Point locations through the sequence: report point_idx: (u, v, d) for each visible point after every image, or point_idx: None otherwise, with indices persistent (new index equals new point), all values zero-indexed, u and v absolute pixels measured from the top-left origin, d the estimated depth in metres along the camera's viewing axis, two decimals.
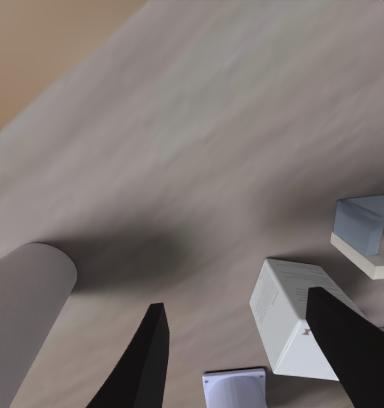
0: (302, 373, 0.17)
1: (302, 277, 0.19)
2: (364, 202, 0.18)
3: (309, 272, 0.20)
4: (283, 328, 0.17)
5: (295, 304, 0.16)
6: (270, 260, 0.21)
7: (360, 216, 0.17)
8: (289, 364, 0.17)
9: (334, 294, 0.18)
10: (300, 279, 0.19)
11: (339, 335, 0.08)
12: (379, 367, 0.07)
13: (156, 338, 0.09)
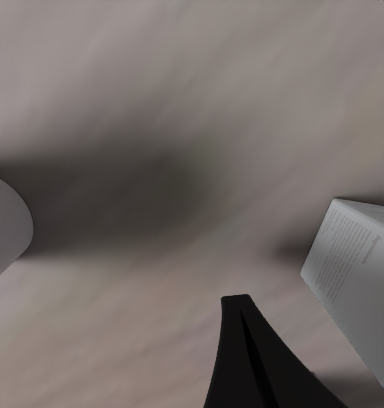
0: None
1: None
2: None
3: None
4: None
5: None
6: (342, 200, 0.13)
7: None
8: None
9: None
10: None
11: (249, 344, 0.09)
12: (265, 377, 0.07)
13: None
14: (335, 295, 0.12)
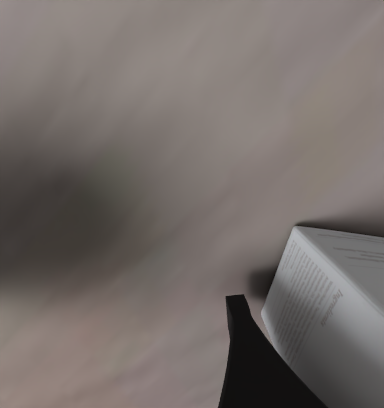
0: None
1: (383, 258, 0.09)
2: None
3: None
4: (374, 398, 0.06)
5: None
6: (304, 228, 0.10)
7: None
8: None
9: None
10: (383, 263, 0.08)
11: None
12: None
13: None
14: (293, 357, 0.09)
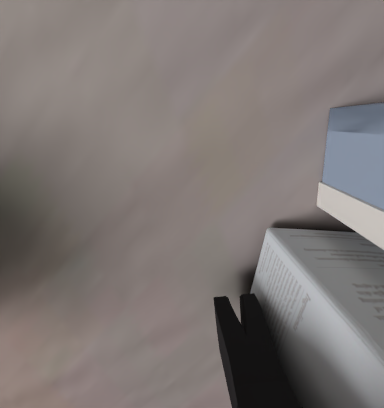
0: None
1: (354, 256, 0.09)
2: None
3: (362, 246, 0.10)
4: (340, 406, 0.06)
5: (374, 336, 0.05)
6: (277, 230, 0.10)
7: None
8: None
9: None
10: (352, 262, 0.08)
11: (223, 346, 0.09)
12: (232, 381, 0.07)
13: None
14: None
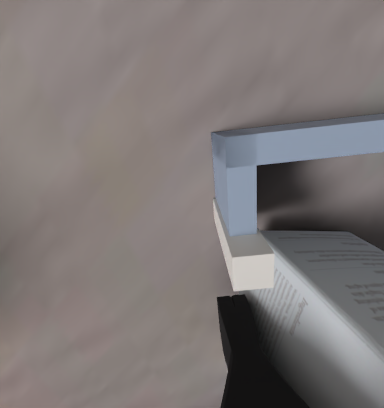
0: None
1: (339, 256, 0.09)
2: (251, 129, 0.09)
3: (344, 245, 0.10)
4: None
5: (377, 340, 0.05)
6: (265, 233, 0.10)
7: (219, 144, 0.07)
8: None
9: None
10: (340, 262, 0.08)
11: (227, 346, 0.09)
12: None
13: None
14: None
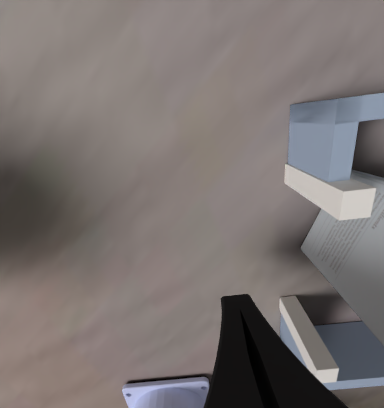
0: None
1: None
2: None
3: None
4: None
5: None
6: None
7: (319, 108, 0.09)
8: None
9: None
10: None
11: (249, 344, 0.09)
12: (265, 378, 0.07)
13: None
14: (339, 264, 0.11)
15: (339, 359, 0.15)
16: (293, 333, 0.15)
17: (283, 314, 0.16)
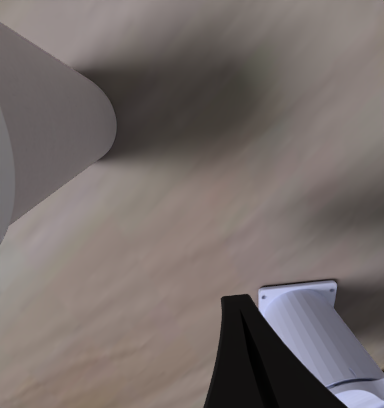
0: None
1: None
2: None
3: None
4: None
5: None
6: None
7: None
8: None
9: None
10: None
11: (249, 344, 0.09)
12: (265, 377, 0.07)
13: None
14: None
15: None
16: None
17: None
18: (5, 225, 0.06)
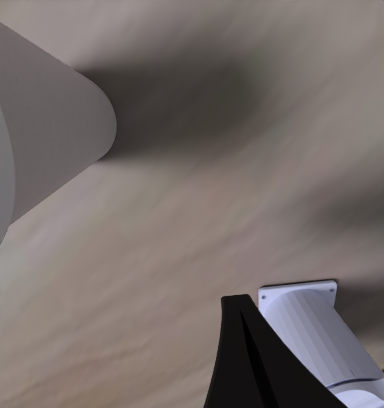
0: None
1: None
2: None
3: None
4: None
5: None
6: None
7: None
8: None
9: None
10: None
11: (249, 344, 0.09)
12: (265, 377, 0.07)
13: None
14: None
15: None
16: None
17: None
18: (5, 225, 0.06)
